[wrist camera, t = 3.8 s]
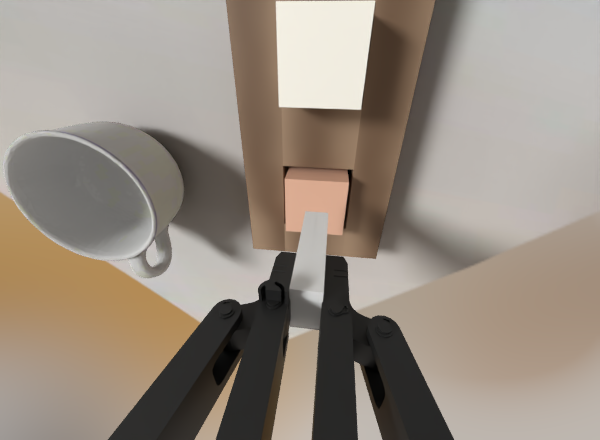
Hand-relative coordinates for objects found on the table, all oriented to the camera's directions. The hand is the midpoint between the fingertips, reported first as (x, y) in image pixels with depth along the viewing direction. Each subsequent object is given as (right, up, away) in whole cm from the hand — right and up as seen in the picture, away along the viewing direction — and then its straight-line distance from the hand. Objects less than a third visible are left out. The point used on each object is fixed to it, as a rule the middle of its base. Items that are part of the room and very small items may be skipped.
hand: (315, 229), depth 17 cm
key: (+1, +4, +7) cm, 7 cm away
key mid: (+1, +11, 0) cm, 11 cm away
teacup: (-16, +5, +9) cm, 19 cm away
